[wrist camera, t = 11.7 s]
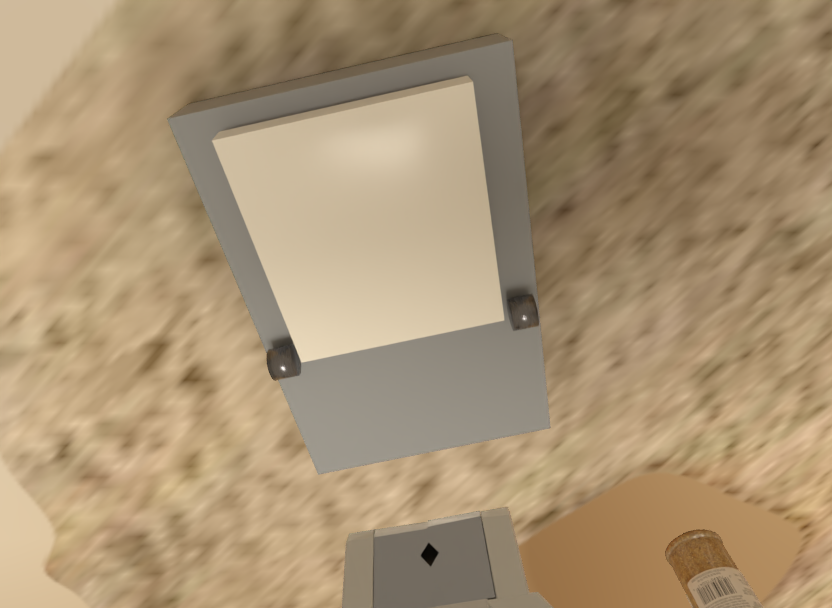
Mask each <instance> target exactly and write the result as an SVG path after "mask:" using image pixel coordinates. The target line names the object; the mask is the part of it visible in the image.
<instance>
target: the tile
mask: <svg viewBox="0 0 832 608" xmlns="http://www.w3.org/2000/svg"><path fill="white" fill-rule="evenodd" d="M212 142H213V145H214V147H215V150H216V152H217V155H218V157H219V159H220V162H221V164H222V167H223V169H224V172H225V174H226V177H227V179H228V182H229V184H230V187H231V189H232V192H233V194H234V197H235V199H236V202H237V204H238V207H239V209H240V212H241V214H242V216H243V219H244V221H245V224H246V226H247V229H248V231H249V234H250V236H251V239H252V241H253V244H254V246H255V249H256V251H257V254H258V256H259V259H260V261H261V264H262V266H263V269H264V271H265V273H266V276H267V278H268V281H269V283H270V286H271V288H272V291H273V293H274V296H275V298H276V301H277V303H278V306H279V308H280V311H281V313H282V316H283V318H284V321H285V323H286V326H287V328H288V330H289V333H290V335H291V338H292V340H293V343H294V345H295V348H296V350H297V353H298V355H299V358H300V360H301V363H302V362H307V361H312V360H317V359H322V358H326V357H331V356H336V355H341V354H346V353H351V352H355V351H360V350H365V349H370V348H375V347H379V346H384V345H389V344H394V343H399V342H403V341H408V340H413V339H418V338H423V337H427V336H432V335H437V334H442V333H447V332H451V331H456V330H461V329H466V328H471V327H475V326H480V325H485V324H490V323H495V322H499V321H504V312H503V305H502V297H501V290H500V282H499V275H498V267H497V260H496V252H495V244H494V237H493V229H492V222H491V214H490V207H489V199H488V192H487V184H486V176H485V169H484V161H483V154H482V146H481V139H480V131H479V124H478V116H477V108H476V101H475V93H474V86H473V81H472V80H471V79H470V78H469V76H463V77H459V78H454V79H450V80H446V81H441V82H437V83H432V84H428V85H423V86H419V87H415V88H410V89H406V90H401V91H397V92H392V93H388V94H384V95H379V96H375V97H370V98H366V99H362V100H357V101H353V102H348V103H344V104H339V105H335V106H331V107H326V108H322V109H317V110H313V111H308V112H304V113H300V114H295V115H291V116H286V117H282V118H278V119H273V120H269V121H264V122H260V123H255V124H251V125H247V126H242V127H238V128H233V129H229V130H224V131H220V132H218V133H217V135H216V136H215V137H214V138H213V140H212Z"/></svg>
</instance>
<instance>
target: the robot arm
mask: <svg viewBox="0 0 832 608" xmlns="http://www.w3.org/2000/svg"><path fill="white" fill-rule="evenodd" d="M481 518H482V519H481ZM342 608H553V607H552V606H551V605H550V604H549V603H548V602H547V601H546V600H545V599H544V598H543V597H542V596H541V595H540V594H539V593H538V592H534V593H529V589H528V585H527V581H526V577H525V573H524V569H523V565H522V561H521V556H520V552H519V548H518V544H517V540H516V536H515V531H514V527H513V523H512V519H511V515H510V511H509V509H508V507H502V508H497V509H492V510H486V511H481V515H480V511H476V512H471V513H466V514H460V515H455V516H450V517H444V518H439V519H434V520H428V522H422V523H416V524H409V525H402V526H396V527H389V528H382V529H375V530H369V531H363V532H357V533H351V534H349V535H348V538H347V541H346V550H345V566H344V582H343V598H342Z"/></svg>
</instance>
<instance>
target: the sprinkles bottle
mask: <svg viewBox="0 0 832 608" xmlns="http://www.w3.org/2000/svg"><path fill="white" fill-rule="evenodd" d="M665 556H666V559H667V561H668V562H669V564H670V565H671V566H672V567H673V569H674V571H675V573H676V575H677V577H678V579H679V581H680V583H681V585H682V587H683V589H684V590H685V592H686V596H687V599H688V600H689V602H690V604H691V606H692V608H763V606H762V605H761V603H760V601H759V600H758V598H757V597H756V595H755V593H754V592H753V590H752V589H751V587H750V585H749V584H748V582H747V581H746V579H745V578H744V576H743V574H742V573H741V572H740V571H739V570H738V568H737V567H736V565H735V563H734V562H733V560H732V558H731V557H730V556H729V554H728V552H727V550H726V549H725V547H724V545H723V542H722V540H721V538H720V537H719V536H718V534H716V533H715V532H712V531H708V530H693V531H689V532H686V533H683V534H682V535H680V536H678V537H677V538H675V539H674V540H673V541H671V543H670V544H669V545H668V547H667V549H666V551H665Z"/></svg>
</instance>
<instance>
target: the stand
mask: <svg viewBox="0 0 832 608" xmlns="http://www.w3.org/2000/svg"><path fill="white" fill-rule="evenodd" d="M463 76H469V78H470V79H471V80H472V81H473V86H474V93H475V101H476V108H477V116H478V124H479V131H480V139H481V146H482V154H483V161H484V169H485V176H486V184H487V192H488V199H489V207H490V214H491V222H492V229H493V237H494V244H495V252H496V260H497V267H498V275H499V282H500V290H501V297H502V305H503V312H504V321H499V322H495V323H490V324H485V325H480V326H475V327H471V328H466V329H461V330H456V331H451V332H447V333H442V334H437V335H432V336H427V337H423V338H418V339H413V340H408V341H403V342H399V343H394V344H389V345H384V346H379V347H375V348H370V349H365V350H360V351H355V352H351V353H346V354H341V355H336V356H331V357H326V358H322V359H317V360H312V361H307V362H302V363H301V360H300V358H299V355H298V353H297V350H296V348H295V345H294V343H293V340H292V338H291V335H290V333H289V330H288V328H287V326H286V323H285V321H284V318H283V316H282V313H281V311H280V308H279V306H278V303H277V301H276V298H275V296H274V293H273V291H272V288H271V286H270V283H269V281H268V278H267V276H266V273H265V271H264V269H263V266H262V264H261V261H260V259H259V256H258V254H257V251H256V249H255V246H254V244H253V241H252V239H251V236H250V234H249V231H248V229H247V226H246V224H245V221H244V219H243V216H242V214H241V212H240V209H239V207H238V204H237V202H236V199H235V197H234V194H233V192H232V189H231V187H230V184H229V182H228V179H227V177H226V174H225V172H224V169H223V167H222V164H221V162H220V159H219V157H218V155H217V152H216V150H215V147H214V145H213V142H212V140H213V138H214V137H215V136H216V135H217V133H218V132H220V131H224V130H229V129H233V128H238V127H242V126H247V125H251V124H255V123H260V122H264V121H269V120H273V119H278V118H282V117H286V116H291V115H295V114H300V113H304V112H308V111H313V110H317V109H322V108H326V107H331V106H335V105H339V104H344V103H348V102H353V101H357V100H362V99H366V98H370V97H375V96H379V95H384V94H388V93H392V92H397V91H401V90H406V89H410V88H415V87H419V86H423V85H428V84H432V83H437V82H441V81H446V80H450V79H454V78H459V77H463ZM167 120H168V122H169V125H170V127H171V129H172V132H173V134H174V137H175V139H176V141H177V144H178V146H179V148H180V151H181V153H182V155H183V158H184V160H185V162H186V165H187V167H188V169H189V172H190V174H191V176H192V179H193V181H194V184H195V186H196V188H197V191H198V193H199V195H200V198H201V200H202V202H203V205H204V207H205V209H206V212H207V214H208V216H209V219H210V221H211V223H212V226H213V228H214V231H215V233H216V235H217V238H218V240H219V242H220V245H221V247H222V249H223V252H224V254H225V256H226V259H227V261H228V263H229V266H230V268H231V271H232V273H233V275H234V278H235V280H236V282H237V285H238V287H239V289H240V292H241V294H242V296H243V299H244V301H245V303H246V306H247V308H248V310H249V313H250V315H251V318H252V320H253V322H254V325H255V327H256V329H257V332H258V334H259V336H260V339H261V341H262V343H263V346H264V348H265V350H266V353H267V366H268V370H269V373H270V375H271V377H272V379H273V380H275V381H276V380H278V381H279V383H280V386H281V388H282V390H283V393H284V395H285V397H286V400H287V402H288V404H289V407H290V409H291V412H292V414H293V416H294V419H295V421H296V423H297V426H298V428H299V430H300V433H301V435H302V437H303V440H304V442H305V444H306V447H307V449H308V451H309V454H310V456H311V459H312V461H313V463H314V466H315V468H316V470H317V473H318V475H319V474H324V473H329V472H334V471H339V470H344V469H349V468H354V467H359V466H364V465H369V464H374V463H379V462H384V461H389V460H394V459H399V458H404V457H409V456H414V455H419V454H424V453H429V452H434V451H439V450H444V449H449V448H454V447H459V446H464V445H469V444H474V443H479V442H484V441H489V440H494V439H499V438H504V437H509V436H514V435H519V434H524V433H529V432H534V431H539V430H544V429H549V428H550V418H549V408H548V398H547V387H546V377H545V367H544V357H543V347H542V336H541V326H540V316H539V306H538V295H537V285H536V275H535V265H534V255H533V244H532V234H531V224H530V214H529V203H528V193H527V183H526V173H525V162H524V152H523V142H522V132H521V122H520V111H519V101H518V91H517V81H516V70H515V60H514V50H513V40H511V39H509V38H506V37H504V36H502V35H500V34H492V35H488V36H483V37H479V38H475V39H470V40H466V41H462V42H457V43H453V44H448V45H444V46H440V47H435V48H431V49H427V50H422V51H418V52H413V53H409V54H405V55H400V56H396V57H392V58H387V59H383V60H379V61H374V62H370V63H365V64H361V65H357V66H352V67H348V68H344V69H339V70H335V71H330V72H326V73H322V74H317V75H313V76H309V77H304V78H300V79H295V80H291V81H287V82H282V83H278V84H274V85H269V86H265V87H260V88H256V89H252V90H247V91H243V92H239V93H234V94H230V95H225V96H221V97H217V98H212V99H208V100H204V101H199V102H195V103H190V104H187V105H186V106H185V107H183V108H182V109H180V110H179V111H178V112H176V113H175V114H173V115H172V116H170V117H169V118H168V119H167Z"/></svg>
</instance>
